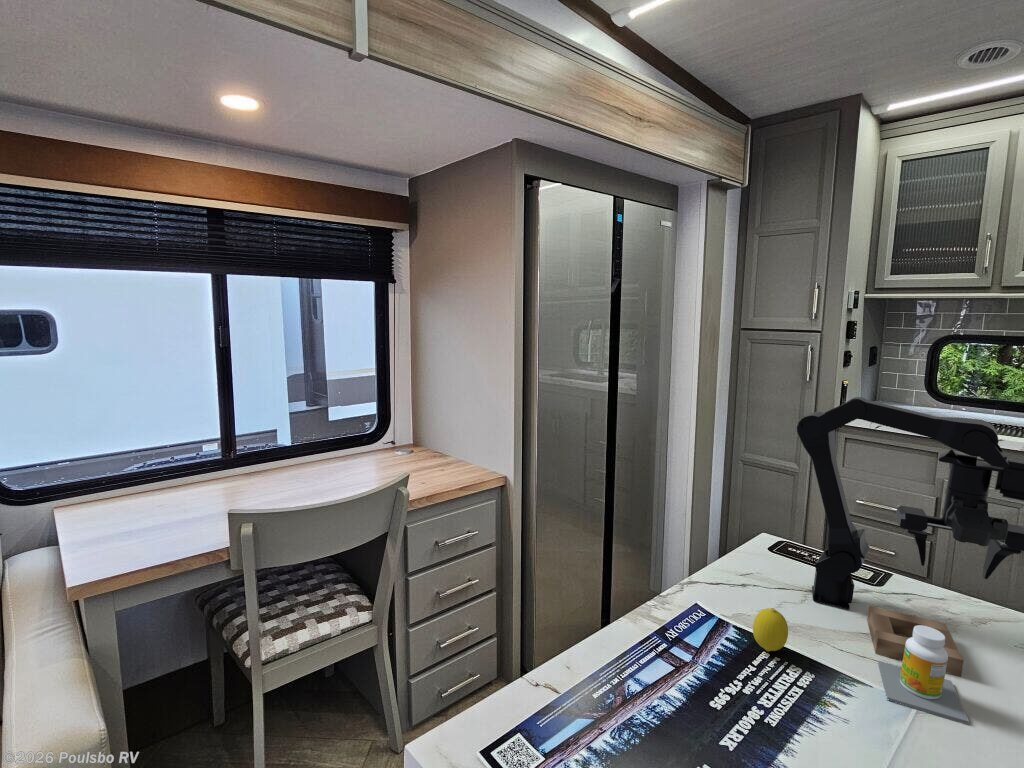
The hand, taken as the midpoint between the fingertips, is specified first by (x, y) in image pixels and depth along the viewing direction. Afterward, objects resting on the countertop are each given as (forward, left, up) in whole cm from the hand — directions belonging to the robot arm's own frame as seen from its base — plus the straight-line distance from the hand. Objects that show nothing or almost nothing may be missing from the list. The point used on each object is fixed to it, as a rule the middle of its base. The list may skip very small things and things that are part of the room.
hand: (952, 571), depth 100 cm
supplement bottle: (-7, -21, -13) cm, 25 cm away
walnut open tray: (-6, -7, -13) cm, 16 cm away
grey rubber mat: (-7, -21, -13) cm, 25 cm away
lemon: (-29, -22, -13) cm, 38 cm away
